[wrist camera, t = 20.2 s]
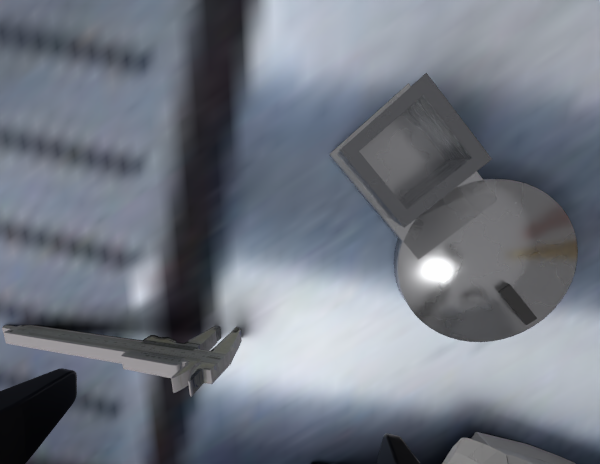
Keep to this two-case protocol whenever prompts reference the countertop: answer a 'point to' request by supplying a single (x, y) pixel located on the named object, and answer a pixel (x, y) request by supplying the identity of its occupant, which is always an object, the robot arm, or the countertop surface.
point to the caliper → (139, 351)
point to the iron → (498, 452)
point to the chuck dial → (458, 221)
